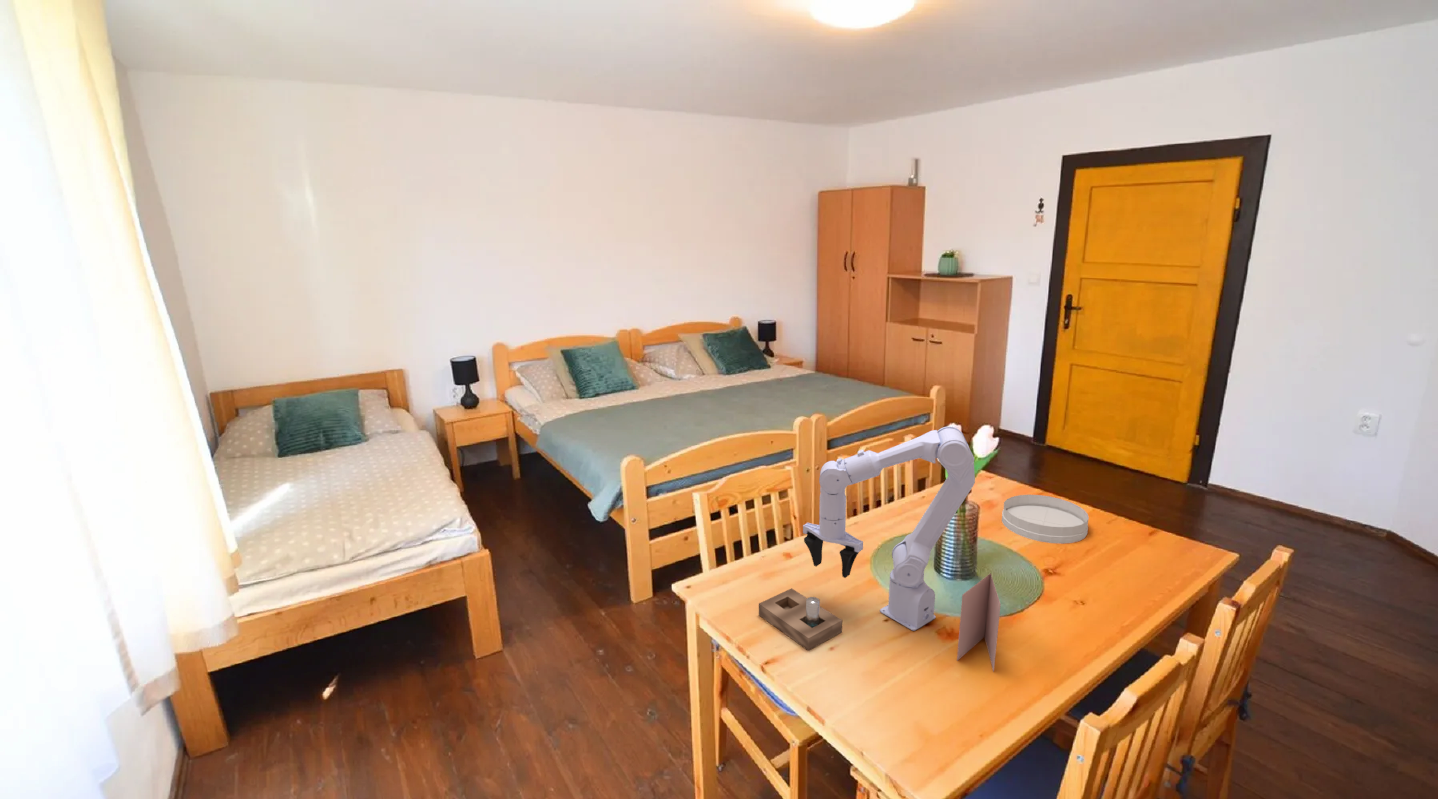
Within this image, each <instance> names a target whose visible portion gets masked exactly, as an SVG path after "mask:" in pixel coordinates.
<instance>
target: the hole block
mask: <svg viewBox="0 0 1438 799" xmlns="http://www.w3.org/2000/svg"><path fill="white" fill-rule="evenodd" d="M807 598H808V597H806V596H805V595H803V594H801V593H800V592H798V591H797V590H795V589H793V588H789V589H787V590H785V591H782V592H781V593H778V594H776V595H774V596H772V597H770V598H768V599H767V598H766V599H765V600H763V601H761V602H759V603H758V616H760V617H761V618H762V619H764V620H765V621H766V622H768V623H769V624H770V625H772V626H773V627H774V628H776V629H777V630H779V631H780V632H782V633H783V634H785V636H787V637H789V638H790V639H791V640H792V641H794V642H795V643H797V644H798V645H800V647H802V648H804V649H805V650H807V651H810V650H812V649H814V648H816V647H818V646H820V645H821V644H823V643H825V642H827V641H829V640H830V639H832V638H834V637H836V636H838V635H840V634H841V633H843V619H842V618H840V617H839V616H837V615H835V614H833V613H832V612H830V611H828V610H827V609H825V608H824V607H822V606H821V605H819V625H817V626H815V627H813V628H811V627H810V626H808V625H807V624H806V599H807Z"/></svg>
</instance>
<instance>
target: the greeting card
mask: <svg viewBox="0 0 1438 799" xmlns="http://www.w3.org/2000/svg"><path fill="white" fill-rule="evenodd" d="M961 596H962V597H961V605H960V606H961V608H960V618H959V632H958V633H959V634H958V641H957V642H958V643H957V656H956V661H957V662H958V661H959V660H960V659H961V658H962V657H964V655H966V654H967V653H968V652H969V651H970V650H971V649H972V648H974V647H975V646H976V645H977V644H978V643H980V641H982V640H983V639H984V640H985V644H986V648H987V652H988V655H989V660H990V664H991V669H992V672H993V673H994V671H995V666H996V665H995V663H996V653H997V644H998V643H997V642H998V633H999V624H1000V615H1001V614H1000V613H1001V601H1000V598H999V595H998V592H997V588H996V585H995V582H994V579H993V576H992V574H991V573H989V574H987V575H986V576H985V577H983V578H982V579H981V580H979V582H977V583H976V584H974V585H973V586H972V587H970V588H969V589H968V590H966V591H965V592H964V593H962V595H961Z"/></svg>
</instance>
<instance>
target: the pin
mask: <svg viewBox="0 0 1438 799" xmlns="http://www.w3.org/2000/svg"><path fill="white" fill-rule="evenodd" d="M806 598H807V599H806V624H807V625H808V626H810V627H811V628H813V627H815V626H817V625H819V606H821V605H820V603H821V602H820V599H819V598H818V597H815V596H809V597H806Z"/></svg>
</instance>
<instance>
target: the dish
mask: <svg viewBox="0 0 1438 799" xmlns="http://www.w3.org/2000/svg"><path fill="white" fill-rule="evenodd" d="M1001 512H1002V513H1001V522H1002V524H1003V526H1004V527H1005V528H1006V529H1008V530H1009V531H1011V532H1013V533H1014V534H1016V535H1018V536H1021V537H1024V538H1027V539H1029V540H1033V541H1037V542H1042V543H1049V544H1073V543H1077V542H1080V541H1082V540H1084V539H1086V536H1087V535H1088V530H1089V525H1088V524H1089V514H1088V513H1087V512H1086V510H1085V509H1084V508H1082V507H1080V506H1079V505H1077V504H1075V503H1073V502H1071V501H1068V500H1066V499H1062V498H1060V497H1059V498H1058V497H1054V496H1049V495H1041V494H1018V495H1015V496H1014V495H1013V496H1011V497H1008V498H1007V499H1006V500H1005V501H1004V502H1003V509H1002V511H1001Z"/></svg>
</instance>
